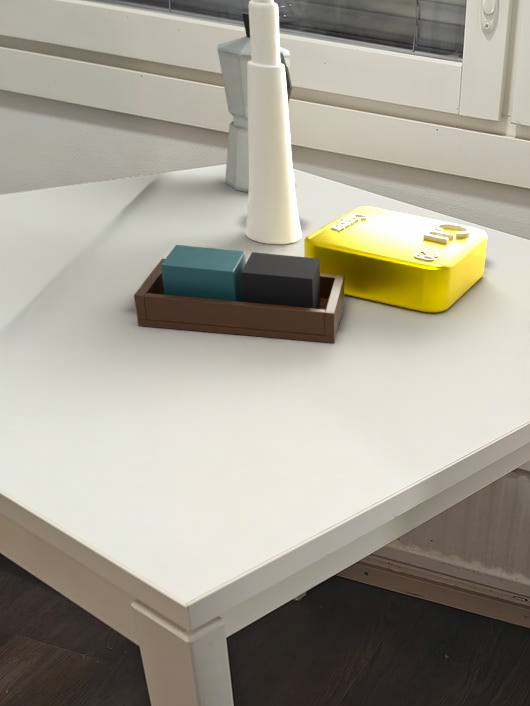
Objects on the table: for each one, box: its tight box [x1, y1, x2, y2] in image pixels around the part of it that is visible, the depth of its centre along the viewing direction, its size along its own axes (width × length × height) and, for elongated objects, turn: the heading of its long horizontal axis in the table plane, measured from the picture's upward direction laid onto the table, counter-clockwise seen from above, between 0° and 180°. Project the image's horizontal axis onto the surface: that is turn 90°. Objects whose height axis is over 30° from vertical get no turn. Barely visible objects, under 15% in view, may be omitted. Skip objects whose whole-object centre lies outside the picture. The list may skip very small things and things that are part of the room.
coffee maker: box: [216, 11, 297, 193], centre depth 106 cm, size 15×9×18 cm, turn 34°
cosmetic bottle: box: [245, 0, 303, 245], centre depth 90 cm, size 6×6×22 cm
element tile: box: [303, 205, 488, 314], centre depth 89 cm, size 15×15×5 cm
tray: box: [133, 257, 345, 344], centre depth 79 cm, size 17×10×3 cm, turn 91°
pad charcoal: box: [241, 251, 320, 309], centre depth 79 cm, size 6×6×4 cm
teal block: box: [161, 244, 247, 302], centre depth 78 cm, size 6×6×4 cm
